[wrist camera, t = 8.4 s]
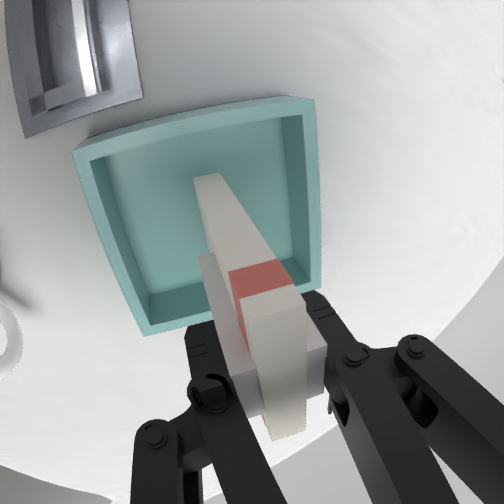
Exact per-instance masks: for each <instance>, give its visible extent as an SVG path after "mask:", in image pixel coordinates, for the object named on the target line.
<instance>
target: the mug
mask: <svg viewBox="0 0 504 504" xmlns="http://www.w3.org/2000/svg"><path fill="white" fill-rule="evenodd" d="M0 323H1V324H2V325H3V327H4V328H5V330H6V333H7V340H8V342H7V347H6V349H5V352H4V353H3V355H2V356H1V357H0V380H1V379H3V378H5V377H6V376H8V375H9V374H10V373H12V371H13V370H14V369H15V368H16V366H17V365H18V363H19V361H20V358H21V355H22V349H23V338H22V332H21V329H20V326H19V324H18V321H17V319H16V318H15V316H14V315H13V313H12V312H11V311H10V310H9V308H8V307H7V306H6V305H5V304H3V303H2V302H1V301H0Z"/></svg>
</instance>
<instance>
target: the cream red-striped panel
mask: <svg viewBox="0 0 504 504" xmlns="http://www.w3.org/2000/svg"><path fill="white" fill-rule="evenodd" d="M193 181H194V185H195V190H196V195H197V200H198V204H199V209H200V213H201V218H202V222H203V227H204V231H205V236H206V240H207V245H208V249H209V253H212V252H214V255H215V258H216V260H217V263H218V266H219V269H220V272H221V275H222V278H223V280H224V283H225V286H226V289H227V292H228V294H229V297H230V300H231V303H232V305H233V308H234V311H235V314H236V316H237V319H238V322H239V326H240V329H241V332H242V334H243V337H244V340H245V343H246V345H247V348H248V351H249V353H250V354H251V356H252V359H253V362H254V364H255V367H256V371H257V375H258V380H259V385H260V390H261V395H262V400H263V405H264V409H265V413H264V414H261V415H262V418H263V420H264V423H265V426H266V427H267V430H268V432H269V435H270V437H271V440H272V441H275V440H279V439H282V438H285V437H288V436H291V435H293V434H296V433H299V432H302V431H305V430H306V389H307V334H306V302H305V301H304V299H303V298H302V296H301V295H300V293H299V292H298V290H297V288H296V287H295V285H294V282H293V280H292V279H291V277H290V276H289V274H288V273H287V271H286V270H285V268H284V267H283V265H282V264H281V262H280V261H279V259H278V258H276V257H275V255H274V254H273V252H272V250H271V249H270V247H269V246H268V244H267V243H266V241H265V240H264V238H263V237H262V235H261V234H260V232H259V231H258V229H257V228H256V226H255V225H254V223H253V222H252V220H251V219H250V217H249V216H248V214H247V213H246V211H245V210H244V208H243V207H242V206H241V204H240V203H239V201H238V200H237V198H236V197H235V195H234V194H233V192H232V191H231V189H230V188H229V186H228V185H227V183H226V182H225V180H224V179H223V177H222V176H221V174H220V173H219V172H217V173H212V174H208V175H204V176H199V177H195V178H193Z"/></svg>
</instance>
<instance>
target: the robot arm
mask: <svg viewBox="0 0 504 504" xmlns="http://www.w3.org/2000/svg"><path fill="white" fill-rule="evenodd" d="M197 259H198V263H199V267H200V271H201V275H202V279H203V282H204V286H205V290H206V294H207V297H208V301H209V305H210V309H211V312H212V316H213V319H214V320H210V321H206V322H202V323H199V324H195V325H191V326H188V328H187V330H186V333H185V336H184V339H185V345H186V351H187V356H188V362H189V367H190V373H191V378H192V380H191V381H190V383H189V385H188V387H187V396H188V398H189V400H190V402H191V406H190V407H189V408H188V409H187V411H185V412H184V413H183V414H181V415H180V416H178V417H176V418H174V419H172V420H170V421H169V422H167V421H166V420H161V419H154V420H150V421H148V422H146V423H144V424H142V425H141V427H140V428H139V429H138V430H137V433H136V436H135V441H134V452H133V464H132V478H131V496H130V504H203V486H202V468H204V467H206V466H208V465H209V464H211V463H212V464H213V466H214V469H215V472H216V475H217V477H218V480H219V483H220V486H221V488H222V491H223V493H224V496H225V499H226V501H227V504H287V502H286V500H285V498H284V496H283V494H282V492H281V490H280V488H279V486H278V484H277V482H276V480H275V478H274V476H273V473H272V471H271V469H270V467H269V465H268V463H267V461H266V459H265V456H264V454H263V452H262V450H261V448H260V446H259V443H258V441H257V439H256V437H255V434H254V432H253V430H252V428H251V425H250V423H249V421H248V419H247V418H250V417H254V416H257V415H261V414H264V413H265V409H264V405H263V400H262V395H261V390H260V385H259V380H258V375H257V371H256V367H255V364H254V362H253V359H252V356H251V354H250V353H249V351H248V348H247V345H246V343H245V340H244V337H243V334H242V332H241V329H240V326H239V322H238V319H237V316H236V314H235V311H234V308H233V305H232V303H231V300H230V297H229V294H228V292H227V289H226V286H225V283H224V280H223V278H222V275H221V272H220V269H219V266H218V263H217V260H216V258H215V255H214V252H212V253H208V254H205V255H201V256H197ZM300 295H301V296H302V298H303V299H304V301H305V302H306V334H307V389H306V399H309V398H311V397H314V396H317V395H319V394H322V393H324V385H325V387H326V389H327V391H328V393H329V394H330V395H329V403H328V414H331V413H332V411H333V413H334V415H335V418H336V420H337V422H338V424H339V427H340V429H341V431H342V434H343V436H344V438H345V441H346V443H347V445H348V448H349V450H350V452H351V454H352V457H353V459H354V461H355V463H356V466H357V468H358V471H359V473H360V475H361V478H362V480H363V483H364V485H365V487H366V489H367V492H368V494H369V497H370V499H371V501H372V503H373V504H459V502H458V500H457V499H456V496H455V495H454V493H453V491H452V489H451V487H450V485H449V483H448V481H447V479H446V477H445V476H444V473H443V472H442V470H441V468H440V466H439V464H438V462H437V460H436V459H435V457H434V455H433V453H432V451H431V449H430V447H431V448H432V449H433V451H434V452H435V453H436V454H437V455H438V456H439V457H440V458H441V459H442V460H443V461H444V462H445V463H446V464H447V465H448V466H449V467H450V468H451V469H452V470H453V472H454V473H456V475H457V476H458V477H459V478H460V479H461V480H462V481H463V482H464V483H465V484H466V485H467V486H468V487H469V488H470V489H471V490H472V491H473V492H474V493H475V495H476V496H478V498H479V499H480V500H481V501H482V502H483V503H484V504H504V405H503V404H502V403H500V402H499V401H498V400H497V399H496V398H495V397H494V396H493V395H492V394H490V393H489V392H488V391H487V390H486V389H485V388H484V387H483V386H482V385H481V384H480V383H478V382H477V381H476V380H475V379H474V378H473V377H471V376H470V375H469V374H468V373H467V372H466V371H465V370H464V369H462V368H461V367H460V366H459V365H458V364H457V363H455V362H454V361H453V360H452V359H451V358H450V357H449V356H447V355H446V354H445V353H444V352H443V351H442V350H440V349H439V348H438V347H437V346H436V345H434V344H433V343H432V342H431V341H430V340H429V339H427V338H425V337H424V336H421V335H417V334H413V335H407V336H405V337H403V338H402V339H401V340H400V341H399V343H398V346H396V347H389V348H381V349H374V348H370V347H369V346H367V345H365V344H363V343H360V342H358V341H357V340H356V339H355V338H354V337H353V335H352V334H351V332H350V331H349V330H348V328H347V327H346V325H345V324H344V323H343V321H342V320H341V319H340V317H339V316H338V314H336V312H335V310H334V309H333V308H332V307H331V305H330V303H329V302H328V301H327V299H326V298H325V297H324V296H323V295H321V294H320V293H318V292H316V291H315V290H311V291H308V292H304V293H301V294H300ZM428 445H429V446H430V447H429V446H428Z"/></svg>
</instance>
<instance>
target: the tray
mask: <svg viewBox="0 0 504 504" xmlns="http://www.w3.org/2000/svg"><path fill="white" fill-rule="evenodd" d="M72 155H73V159H74V162H75V165H76V169H77V172H78V175H79V179H80V182H81V185H82V188H83V191H84V194H85V197H86V200H87V203H88V206H89V209H90V212H91V215H92V218H93V220H94V223H95V226H96V229H97V231H98V234H99V237H100V239H101V242H102V244H103V247H104V250H105V252H106V255H107V257H108V260H109V262H110V264H111V267H112V269H113V272H114V274H115V276H116V279H117V281H118V283H119V285H120V288H121V290H122V292H123V294H124V297H125V299H126V301H127V303H128V305H129V308H130V310H131V312H132V314H133V316H134V318H135V320H136V322H137V324H138V326H139V328H140V330H141V332H142V334H143V336H148V335H153V334H157V333H161V332H165V331H169V330H173V329H177V328H181V327H185V326H189V325H193V324H196V323H200V322H204V321H208V320H212V319H213V316H212V312H211V309H210V305H209V301H208V297H207V294H206V290H205V286H204V282H203V279H202V275H201V271H200V267H199V263H198V259H197V256H201V255H205V254H208V253H209V249H208V245H207V240H206V236H205V231H204V227H203V222H202V218H201V213H200V209H199V204H198V200H197V195H196V190H195V185H194V181H193V178H195V177H199V176H204V175H208V174H212V173H217V172H219V173H220V174H221V176H222V177H223V179H224V180H225V182H226V183H227V185H228V186H229V188H230V189H231V191H232V192H233V194H234V195H235V197H236V198H237V200H238V201H239V203H240V204H241V206H242V207H243V208H244V210H245V211H246V213H247V214H248V216H249V217H250V219H251V220H252V222H253V223H254V225H255V226H256V228H257V229H258V231H259V232H260V234H261V235H262V237H263V238H264V240H265V241H266V243H267V244H268V246H269V247H270V249H271V250H272V252H273V254H274V255H275V257H276V258H278V259H279V261H280V262H281V264H282V265H283V267H284V268H285V270H286V271H287V273H288V274H289V276H290V277H291V279H292V280H293V282H294V285H295V287H296V288H297V290H298V292H299V293H300V294H301V293H304V292H308V291H311V290H315V289H318V288H321V214H320V183H319V162H318V144H317V129H316V115H315V103H314V99H310V98H303V97H297V96H290V95H283V96H274V97H266V98H258V99H251V100H244V101H238V102H232V103H226V104H220V105H214V106H209V107H204V108H199V109H194V110H189V111H184V112H180V113H175V114H171V115H167V116H163V117H159V118H155V119H151V120H147V121H143V122H139V123H136V124H132V125H128V126H125V127H122V128H118V129H115V130H112V131H108V132H105V133H102V134H99V135H96V136H93V137H90V138H87V139H86V140H85V141H83V142H82V143H81V144H80V145H79V146H77V147H76V148H75V149H74V150H73V151H72Z"/></svg>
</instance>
